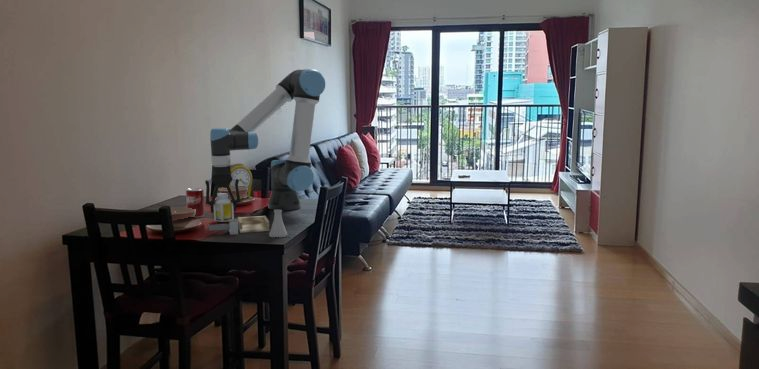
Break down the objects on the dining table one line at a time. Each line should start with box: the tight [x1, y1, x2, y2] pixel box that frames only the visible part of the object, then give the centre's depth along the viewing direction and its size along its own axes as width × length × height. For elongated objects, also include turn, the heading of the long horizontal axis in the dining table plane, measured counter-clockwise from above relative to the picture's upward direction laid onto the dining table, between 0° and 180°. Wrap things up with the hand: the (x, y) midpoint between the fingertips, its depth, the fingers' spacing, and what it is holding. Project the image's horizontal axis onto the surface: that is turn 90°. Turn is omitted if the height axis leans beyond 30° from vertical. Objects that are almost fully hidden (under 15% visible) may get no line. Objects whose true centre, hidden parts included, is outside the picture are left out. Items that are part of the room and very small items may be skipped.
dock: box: [236, 215, 271, 234], centre depth 225 cm, size 11×12×3 cm
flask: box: [268, 210, 289, 239], centre depth 213 cm, size 7×7×10 cm
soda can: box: [185, 187, 205, 219], centre depth 245 cm, size 7×7×12 cm
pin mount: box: [228, 218, 239, 236], centre depth 218 cm, size 3×6×5 cm, turn 18°
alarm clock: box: [229, 162, 253, 197], centre depth 286 cm, size 15×8×18 cm, turn 137°
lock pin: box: [203, 222, 240, 234], centre depth 216 cm, size 13×4×4 cm, turn 108°
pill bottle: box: [214, 192, 232, 223], centre depth 235 cm, size 6×6×12 cm
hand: (224, 219), depth 236 cm, fingers closed on pill bottle, 6 cm apart
